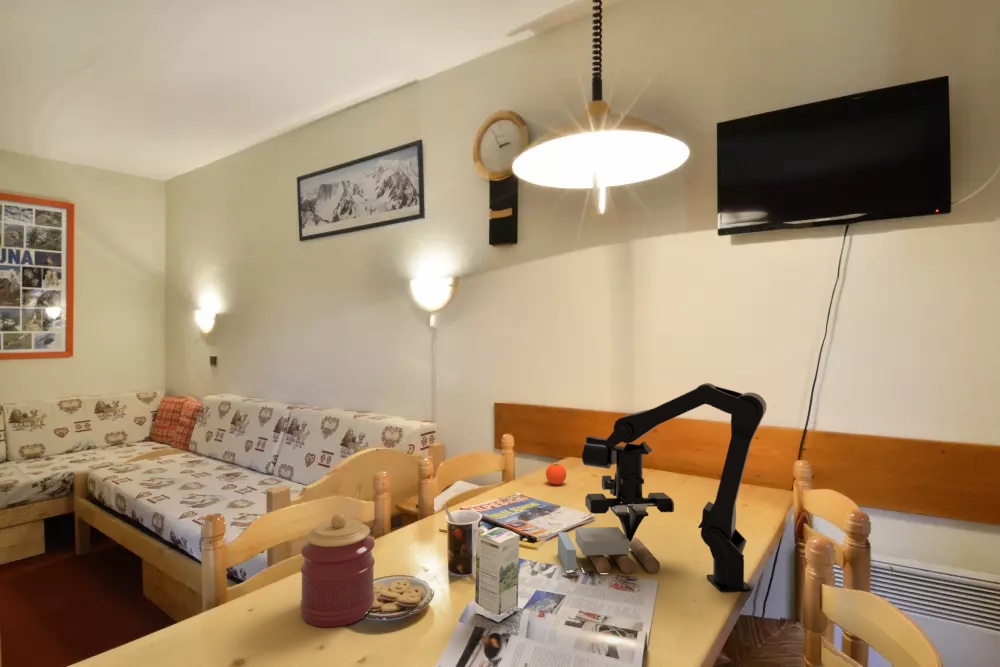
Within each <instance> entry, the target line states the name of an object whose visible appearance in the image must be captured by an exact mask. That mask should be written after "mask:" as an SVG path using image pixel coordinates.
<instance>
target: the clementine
mask: <svg viewBox="0 0 1000 667" xmlns="http://www.w3.org/2000/svg"><path fill="white" fill-rule="evenodd" d="M545 476H546V479H547V481H548V482H549V483H550V484H551V485H555V486H557V485H561V484H563V483H564V482H565V481H566V478H567V470H566V468H565V467H564V465H562V464H560V463H558V462H554V463H553V462H552V463H551V464H550V465H548V467H547V468H546V470H545Z"/></svg>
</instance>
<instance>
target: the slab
mask: <svg viewBox="0 0 1000 667" xmlns="http://www.w3.org/2000/svg"><path fill="white" fill-rule="evenodd" d="M574 534H575V538H574V539H575V543H576V545H577V547H578V548H579V549H580V551H581V553H582V555H583V556H588V555H604V556H609V555H610V556H612V555H615V554H628V555H630V548H629V539H628V538H627V537H626V536H625V534H624V531H622V530H621V529H620V528H619V526H607V527H606V526H599V527H598V526H595V527H575V533H574Z"/></svg>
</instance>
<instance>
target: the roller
mask: <svg viewBox="0 0 1000 667" xmlns="http://www.w3.org/2000/svg"><path fill="white" fill-rule="evenodd" d="M587 556H588V557H589V559H590V561H591V563H592V565H593V566H594V568H595V569H596V572H597V573H598V574H599V573H609V574H611V573H610V571H611V572H612V566H611V564H610V563H609V561H608V559H607V558H606V555H587Z"/></svg>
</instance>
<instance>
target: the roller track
mask: <svg viewBox="0 0 1000 667" xmlns="http://www.w3.org/2000/svg"><path fill="white" fill-rule="evenodd" d="M629 550H631V551H632V553H633V554H634V555H635V557H636V558H637V559H638V560H639V561H640V562H641V564H642V565H643V567H644V569H646V570H647V571H648V573H650V574H655V573H658V571H660V569H661V568H660V567H661V563H660V561H659V560H658V559H657V558H656V557H655V555H653V553H652V552H651V551H650V550H649V549H648V547H646V546H645V544H644V543H643V542H642V541H641V539H639V538H638V537H633V538H632V540H631V542H629ZM611 557H612V558H613V560H614V561H615V563H616V564H617V565H618V567H619V568H620V570H621V571H622V572H623V574H627V575H629V574H632V573H633V572H634V571H635V568H636V564H635V562H634V561H633V559H631V557H630V556H629V554H615V555H611ZM577 563H578V564H577ZM576 564H577V565H578V567H579V569H580V568H583V569H584V567H583V564H582V563H581V561H580V560H579V558H578V556H577V554H576ZM609 574H612V570H611V571H610V573H609Z"/></svg>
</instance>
